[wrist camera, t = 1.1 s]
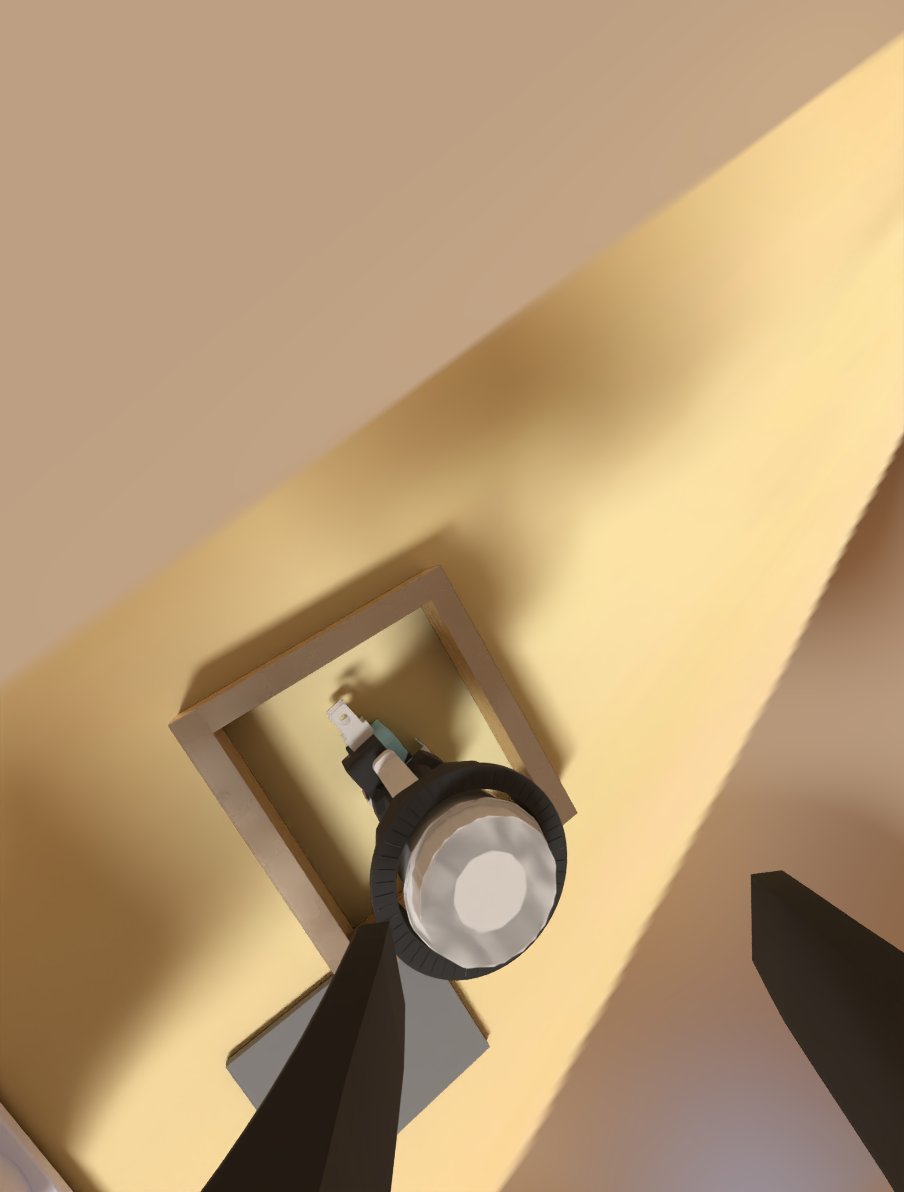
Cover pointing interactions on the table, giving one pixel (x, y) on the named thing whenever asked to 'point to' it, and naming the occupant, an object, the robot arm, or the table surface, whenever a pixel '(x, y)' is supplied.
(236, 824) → the frame
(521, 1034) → the table surface
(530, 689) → the table surface
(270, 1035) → the mat
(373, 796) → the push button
